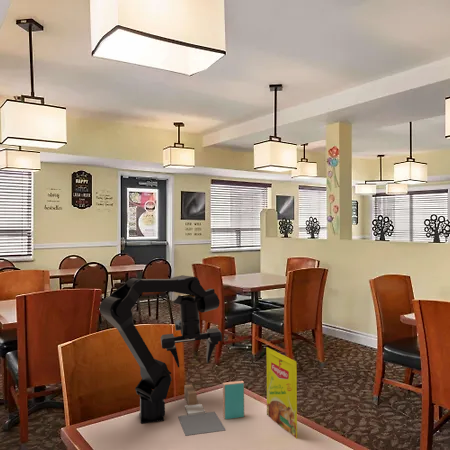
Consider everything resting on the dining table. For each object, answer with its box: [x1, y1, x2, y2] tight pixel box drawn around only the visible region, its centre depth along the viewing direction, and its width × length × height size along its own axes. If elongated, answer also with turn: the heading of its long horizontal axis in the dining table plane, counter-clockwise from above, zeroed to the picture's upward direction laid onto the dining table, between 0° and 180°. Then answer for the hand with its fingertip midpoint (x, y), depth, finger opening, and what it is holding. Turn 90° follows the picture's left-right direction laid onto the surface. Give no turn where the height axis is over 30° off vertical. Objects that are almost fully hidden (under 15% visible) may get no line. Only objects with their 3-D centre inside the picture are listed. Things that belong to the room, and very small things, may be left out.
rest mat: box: [178, 411, 227, 437], centre depth 119 cm, size 11×12×1 cm
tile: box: [222, 380, 245, 420], centre depth 123 cm, size 6×2×10 cm, turn 105°
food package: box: [265, 346, 298, 439], centre depth 118 cm, size 15×1×20 cm, turn 25°
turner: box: [183, 384, 206, 415], centre depth 131 cm, size 14×5×4 cm, turn 16°
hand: (193, 365), depth 133 cm, fingers open, 9 cm apart
